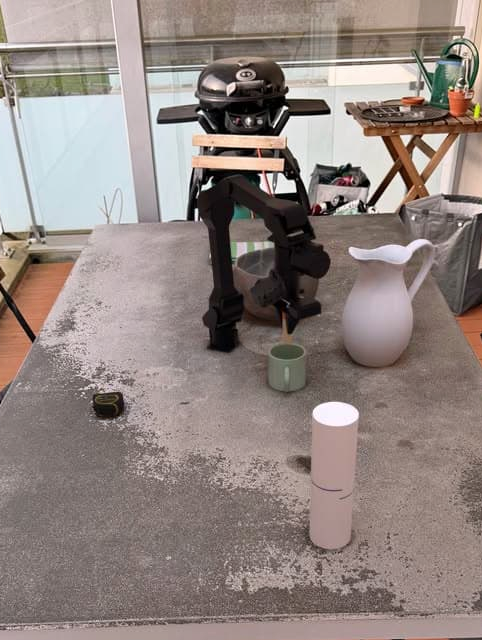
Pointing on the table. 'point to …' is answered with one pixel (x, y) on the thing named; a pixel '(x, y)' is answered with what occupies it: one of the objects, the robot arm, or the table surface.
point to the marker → (285, 331)
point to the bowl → (258, 267)
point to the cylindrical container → (332, 473)
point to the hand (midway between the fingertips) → (287, 332)
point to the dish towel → (246, 248)
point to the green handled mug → (287, 367)
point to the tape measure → (108, 403)
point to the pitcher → (382, 303)
